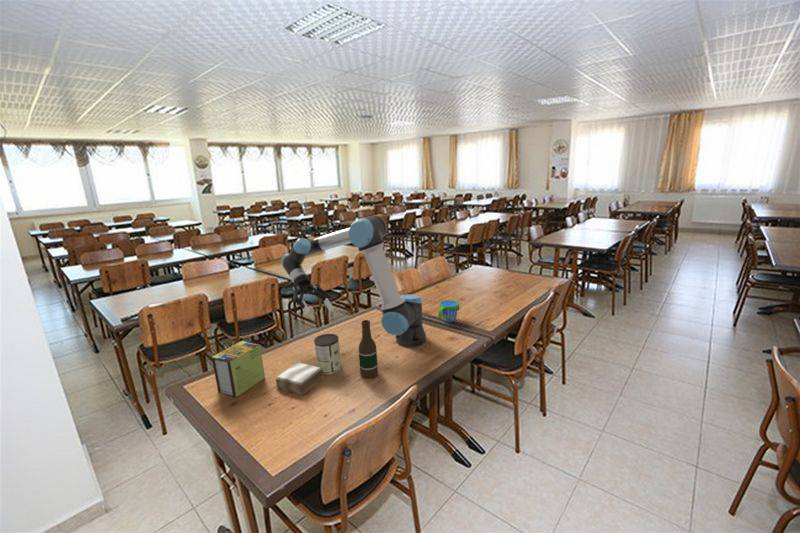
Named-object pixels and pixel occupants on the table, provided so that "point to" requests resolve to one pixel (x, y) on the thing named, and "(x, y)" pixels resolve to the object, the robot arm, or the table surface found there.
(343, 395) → the table surface
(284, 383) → the stand
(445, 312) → the snack cup
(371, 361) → the beer bottle
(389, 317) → the robot arm
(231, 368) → the protein box
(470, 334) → the table surface
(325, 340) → the coffee can
